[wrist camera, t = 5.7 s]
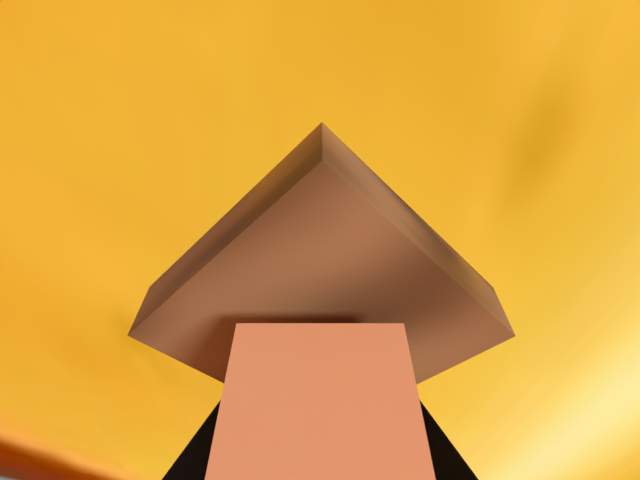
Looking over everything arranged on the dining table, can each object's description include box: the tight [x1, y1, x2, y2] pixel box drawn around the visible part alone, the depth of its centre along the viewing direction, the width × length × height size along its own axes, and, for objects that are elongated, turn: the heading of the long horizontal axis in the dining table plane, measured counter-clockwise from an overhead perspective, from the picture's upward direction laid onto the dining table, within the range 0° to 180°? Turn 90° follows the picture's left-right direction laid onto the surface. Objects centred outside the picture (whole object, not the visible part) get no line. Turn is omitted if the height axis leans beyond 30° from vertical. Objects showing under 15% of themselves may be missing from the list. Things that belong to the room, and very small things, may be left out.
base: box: [127, 122, 515, 385], centre depth 16 cm, size 10×10×2 cm
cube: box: [205, 323, 436, 480], centre depth 12 cm, size 5×5×5 cm
